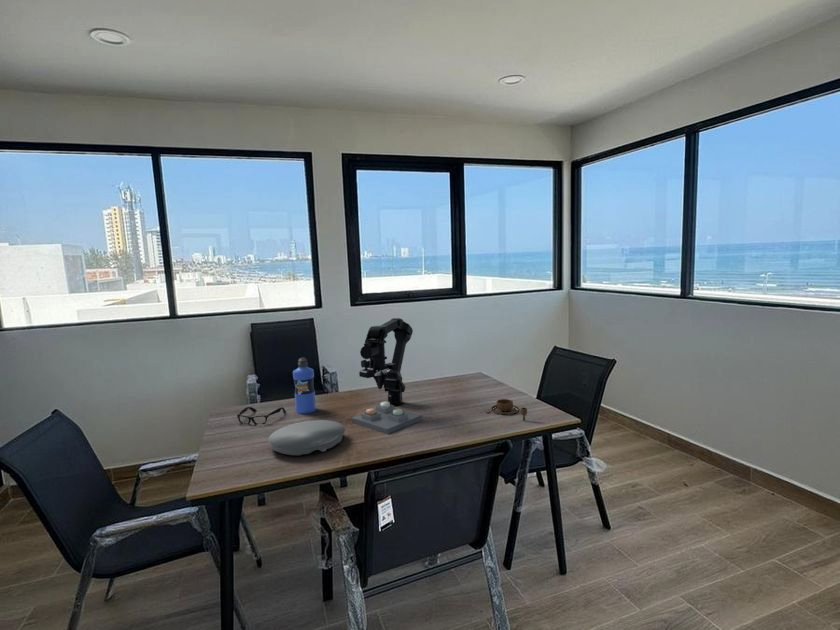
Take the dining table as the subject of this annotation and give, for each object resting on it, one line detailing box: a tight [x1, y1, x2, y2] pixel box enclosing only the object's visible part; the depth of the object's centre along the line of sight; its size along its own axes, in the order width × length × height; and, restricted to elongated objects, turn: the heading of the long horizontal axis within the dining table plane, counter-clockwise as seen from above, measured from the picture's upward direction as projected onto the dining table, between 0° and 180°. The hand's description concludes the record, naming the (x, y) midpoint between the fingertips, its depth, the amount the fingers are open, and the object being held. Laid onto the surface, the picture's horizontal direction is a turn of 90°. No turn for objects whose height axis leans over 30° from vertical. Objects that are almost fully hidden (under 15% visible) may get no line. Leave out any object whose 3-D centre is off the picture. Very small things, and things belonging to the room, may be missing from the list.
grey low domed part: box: [268, 419, 346, 456], centre depth 169 cm, size 28×28×4 cm
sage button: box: [393, 408, 404, 417], centre depth 187 cm, size 4×4×2 cm
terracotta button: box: [365, 407, 376, 416], centre depth 190 cm, size 4×4×2 cm
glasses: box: [236, 406, 286, 425], centre depth 201 cm, size 17×18×5 cm
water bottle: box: [292, 357, 317, 415], centre depth 208 cm, size 9×9×25 cm
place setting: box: [485, 398, 528, 422], centre depth 194 cm, size 18×20×6 cm
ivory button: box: [380, 401, 390, 409], centre depth 198 cm, size 4×4×2 cm
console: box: [351, 404, 423, 435], centre depth 191 cm, size 20×22×4 cm
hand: (380, 388), depth 201 cm, fingers closed
